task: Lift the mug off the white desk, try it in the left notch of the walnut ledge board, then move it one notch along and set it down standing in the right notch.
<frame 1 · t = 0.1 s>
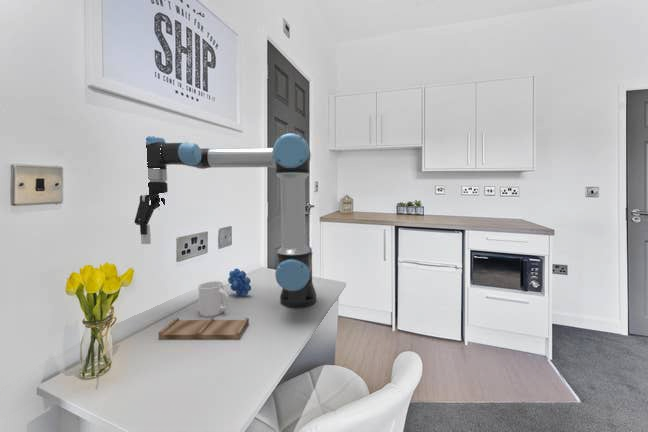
hand: (158, 240, 100), 28 cm above the table, fingers open, 13 cm apart
grapes: (238, 296, 121), on the table
mug: (215, 313, 104), on the table
ledge board: (206, 331, 90), on the table
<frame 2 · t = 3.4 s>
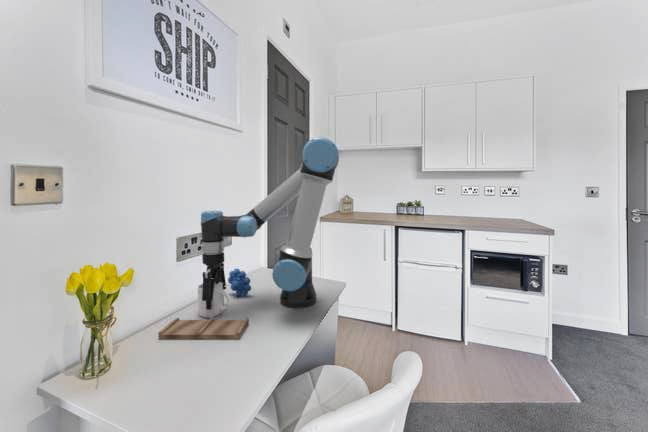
hand: (215, 311, 104), 0 cm above the table, fingers closed on mug, 9 cm apart
mug: (215, 313, 104), on the table, touching gripper
everything else where it was.
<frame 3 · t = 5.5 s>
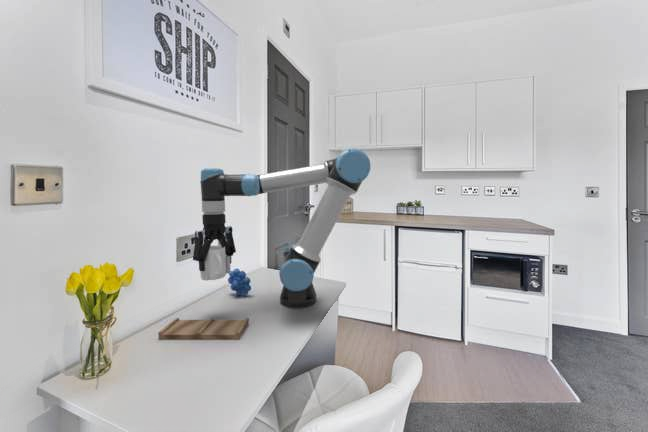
hand: (216, 276, 99), 15 cm above the table, fingers closed on mug, 9 cm apart
mug: (215, 278, 99), point 15 cm above the table, touching gripper
everything else where it was.
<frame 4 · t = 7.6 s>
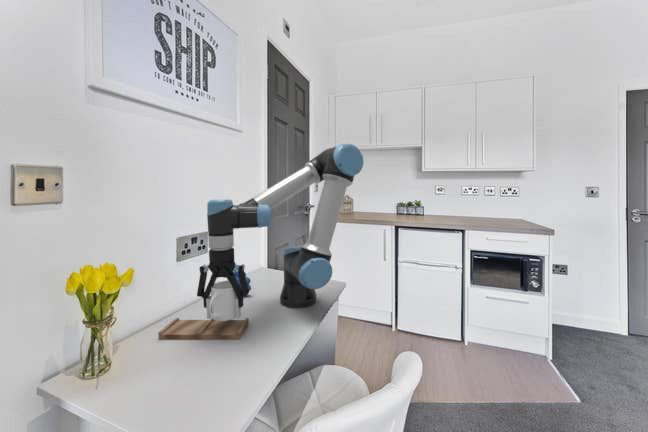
hand: (224, 316, 90), 5 cm above the table, fingers closed on mug, 9 cm apart
mug: (222, 318, 90), point 4 cm above the table, touching gripper
everything else where it was.
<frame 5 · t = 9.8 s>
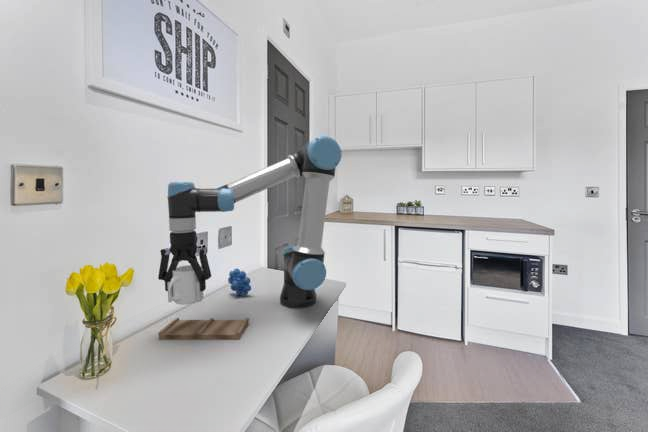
hand: (186, 300, 89), 10 cm above the table, fingers closed on mug, 9 cm apart
mug: (184, 302, 89), point 10 cm above the table, touching gripper
everything else where it was.
when the fingers open (4 cm above the table, at t = 11.7 s): mug drops 2 cm, resting on ledge board.
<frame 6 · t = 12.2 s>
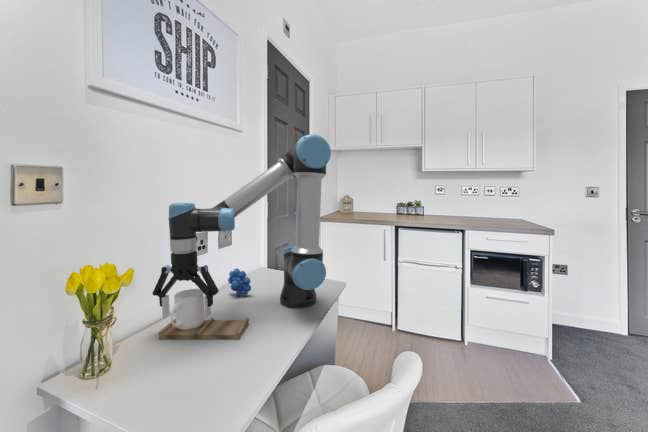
hand: (187, 315, 90), 5 cm above the table, fingers open, 13 cm apart
mug: (186, 327, 90), point 1 cm above the table, touching ledge board
everything else where it was.
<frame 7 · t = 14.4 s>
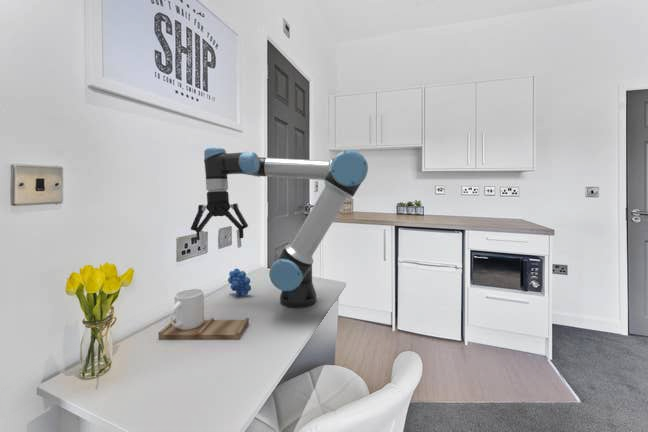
hand: (221, 247, 104), 24 cm above the table, fingers open, 13 cm apart
nothing on the table moved.
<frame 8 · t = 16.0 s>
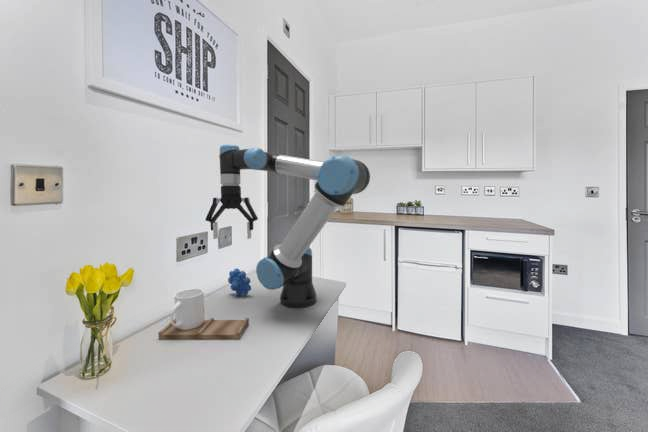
hand: (232, 238, 111), 27 cm above the table, fingers open, 13 cm apart
nothing on the table moved.
at the end: mug inside the target area (0.3 cm from its centre), point 1.3 cm above the table; mug tilted 0°; the gripper is holding nothing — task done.
